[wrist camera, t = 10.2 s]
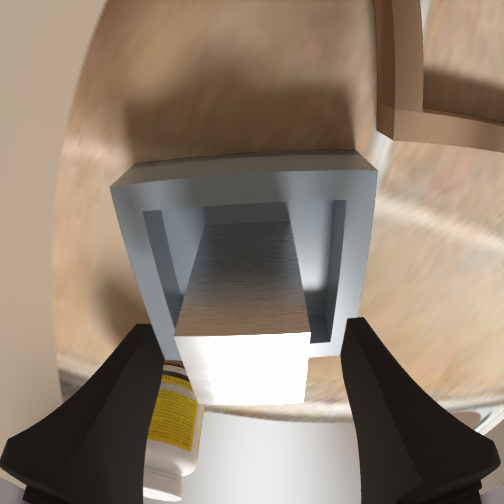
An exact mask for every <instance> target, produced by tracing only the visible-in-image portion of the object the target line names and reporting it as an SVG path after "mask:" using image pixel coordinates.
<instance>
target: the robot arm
mask: <svg viewBox="0 0 504 504" xmlns="http://www.w3.org/2000/svg"><path fill="white" fill-rule="evenodd" d="M340 357H341V365H342V372H343V379H344V383H345V387H346V391H347V395H348V399H349V403H350V407H351V411H352V415H353V420H354V424H355V428H356V433H357V440H358V449H359V459H360V474H361V497H362V498H361V504H504V484H502V485H500V486H498V487H496V488H494V489H492V490H490V491H488V492H486V493H484V494H482V495H480V494H479V490H480V489H481V488H482V484H481V479H483V478H484V477H486V476H487V475H489V474H490V473H491V472H493V471H494V470H495V469H497V467H499V466H500V463H501V461H500V458H499V455H498V451H497V449H496V446H495V444H494V442H493V441H492V440H490V439H488V438H487V437H485V436H483V435H481V434H480V433H478V432H476V431H474V430H473V429H471V428H470V427H468V426H466V425H465V424H464V423H462V422H461V421H459V420H458V419H457V418H455V417H454V416H453V415H451V414H450V413H449V412H448V411H446V410H445V409H444V408H442V407H441V406H440V405H439V404H438V403H437V402H436V401H434V400H433V399H432V398H431V397H430V396H429V395H428V394H427V393H426V392H425V391H424V390H423V389H422V388H421V387H420V386H419V385H418V384H417V383H416V382H415V381H414V380H413V379H412V378H411V377H410V376H409V375H408V373H407V372H406V371H405V370H404V369H403V368H402V367H401V365H400V364H399V363H398V362H397V361H396V359H395V358H394V357H393V356H392V354H391V353H390V352H389V351H388V349H387V348H386V347H385V345H384V344H383V343H382V341H381V340H380V339H379V337H378V336H377V335H376V333H375V332H374V331H373V329H372V328H371V326H370V325H369V324H368V322H367V321H366V319H365V318H364V317H358V318H347V322H346V327H345V333H344V338H343V343H342V348H341V353H340ZM163 366H164V357H163V354H162V352H161V349H160V347H159V344H158V342H157V339H156V336H155V334H154V331H153V329H152V326H151V324H136V325H135V326H134V327H133V329H132V330H131V331H130V332H129V333H128V334H127V336H126V337H125V338H124V339H123V341H122V342H121V343H120V344H119V345H118V347H117V348H116V349H115V350H114V352H113V353H112V354H111V355H110V356H109V357H108V359H107V360H106V361H105V362H104V363H103V365H102V366H101V367H100V368H99V369H98V370H97V371H96V372H95V373H94V375H93V376H92V377H91V378H90V379H89V380H88V381H87V382H86V383H85V384H84V385H83V386H82V387H81V388H80V389H79V390H78V391H77V392H76V393H75V394H74V395H73V396H72V397H70V398H69V399H68V400H67V401H66V402H65V403H63V404H62V405H61V406H60V407H58V408H57V409H56V410H55V411H53V412H52V413H51V414H49V415H48V416H47V417H45V418H44V419H42V420H41V421H39V422H38V423H36V424H35V425H33V426H31V427H30V428H28V429H27V430H24V431H23V432H21V433H19V434H17V435H15V436H14V437H11V438H9V439H8V440H7V443H6V445H5V448H4V450H3V453H2V456H1V459H0V467H1V468H2V469H3V470H4V471H6V472H7V473H9V474H10V475H11V476H13V477H15V478H16V479H18V480H19V481H21V482H22V483H24V484H26V485H27V486H26V489H25V490H24V489H22V488H20V487H18V486H17V485H15V484H13V483H11V482H9V481H7V480H5V479H3V478H0V504H143V477H144V463H145V453H146V444H147V437H148V432H149V427H150V423H151V420H152V416H153V412H154V408H155V404H156V400H157V397H158V393H159V389H160V385H161V380H162V373H163Z"/></svg>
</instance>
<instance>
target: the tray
mask: <svg viewBox="0 0 504 504" xmlns="http://www.w3.org/2000/svg"><path fill="white" fill-rule="evenodd" d="M377 174H378V170H377V169H376V168H374V167H373V166H372V165H371V164H370V163H369V162H368V161H367V160H366V159H365V158H364V157H363V156H362V155H360V154H359V153H358V152H357V151H356V150H306V151H274V152H254V153H238V154H224V155H212V156H201V157H191V158H181V159H172V160H164V161H156V162H148V163H141V164H135V165H133V166H132V167H131V168H130V169H129V170H128V171H127V172H126V173H124V174H123V175H122V176H121V177H120V178H119V179H118V180H117V181H116V182H115V183H113V184H112V185H111V186H110V191H111V195H112V199H113V203H114V207H115V211H116V214H117V218H118V222H119V226H120V229H121V233H122V236H123V240H124V243H125V247H126V250H127V253H128V256H129V260H130V263H131V266H132V269H133V272H134V276H135V279H136V282H137V285H138V288H139V291H140V294H141V296H142V299H143V302H144V305H145V308H146V311H147V313H148V316H149V319H150V322H151V324H152V327H153V330H154V332H155V335H156V337H157V340H158V343H159V345H160V348H161V350H162V353H163V355H164V358H165V360H182V359H181V356H180V353H179V350H178V348H177V345H176V342H175V339H174V333H175V329H176V325H177V321H178V318H179V314H180V310H181V307H182V303H183V299H184V296H185V292H186V288H187V285H188V281H189V278H190V274H191V271H192V267H193V264H194V260H195V257H196V254H197V250H198V247H199V244H200V240H201V237H202V234H203V230H204V227H205V225H218V224H236V223H255V222H276V221H291V226H292V231H293V237H294V242H295V247H296V252H297V258H298V263H299V269H300V274H301V280H302V285H303V291H304V297H305V303H306V309H307V315H308V321H309V327H310V343H309V354H308V358H312V357H324V356H336V355H340V353H341V348H342V343H343V338H344V333H345V327H346V322H347V318H357V315H358V310H359V305H360V300H361V294H362V289H363V283H364V277H365V271H366V265H367V259H368V252H369V245H370V238H371V230H372V223H373V214H374V205H375V196H376V185H377Z"/></svg>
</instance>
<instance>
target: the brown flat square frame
mask: <svg viewBox="0 0 504 504" xmlns="http://www.w3.org/2000/svg"><path fill="white" fill-rule="evenodd" d="M374 7H375V21H376V37H377V66H378V107H377V131H378V132H380V133H382V134H384V135H385V136H387V137H389V138H390V139H392V140H395V141H410V142H423V143H434V144H444V145H453V146H461V147H469V148H477V149H484V150H490V151H496V152H503V153H504V123H502V122H498V121H493V120H489V119H484V118H479V117H474V116H469V115H464V114H458V113H453V112H447V111H440V110H433V109H426V108H423V35H422V19H421V6H420V0H374Z"/></svg>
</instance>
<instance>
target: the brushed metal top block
mask: <svg viewBox="0 0 504 504" xmlns="http://www.w3.org/2000/svg"><path fill="white" fill-rule="evenodd" d="M174 339H175V342H176V345H177V348H178V350H179V353H180V356H181V359H182V362H183V365H184V367H185V370H186V373H187V375H188V378H189V381H190V383H191V386H192V389H193V391H194V394H195V396H196V399H197V401H198V404H208V405H262V404H286V403H302V402H303V400H304V391H305V382H306V373H307V364H308V354H309V343H310V327H309V321H308V315H307V309H306V303H305V297H304V291H303V285H302V280H301V274H300V269H299V263H298V258H297V252H296V247H295V242H294V237H293V231H292V226H291V221H276V222H255V223H236V224H218V225H205V227H204V230H203V234H202V237H201V240H200V244H199V247H198V250H197V254H196V257H195V260H194V264H193V267H192V271H191V274H190V278H189V281H188V285H187V288H186V292H185V296H184V299H183V303H182V307H181V310H180V314H179V318H178V321H177V325H176V329H175V333H174Z"/></svg>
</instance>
